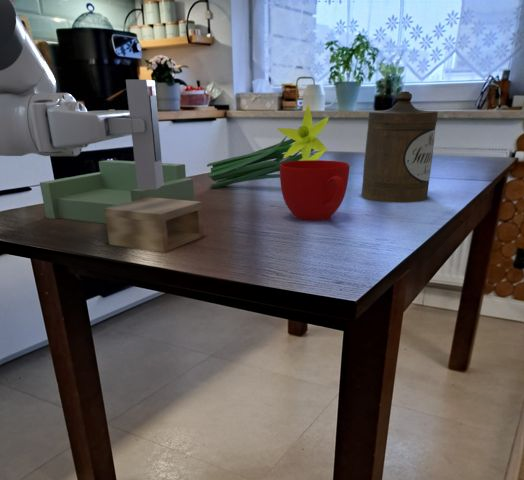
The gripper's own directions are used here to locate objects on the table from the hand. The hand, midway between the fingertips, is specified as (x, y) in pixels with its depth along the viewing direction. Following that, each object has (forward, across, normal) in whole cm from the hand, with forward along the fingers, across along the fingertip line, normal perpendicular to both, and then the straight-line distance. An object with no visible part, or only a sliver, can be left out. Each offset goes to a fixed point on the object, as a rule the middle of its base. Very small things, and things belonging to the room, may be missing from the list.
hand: (150, 124), depth 77 cm
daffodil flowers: (+13, -51, -18) cm, 56 cm away
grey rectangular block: (-1, 0, -9) cm, 9 cm away
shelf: (-1, 0, -18) cm, 18 cm away
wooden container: (+44, -42, -18) cm, 64 cm away
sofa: (-13, -20, -18) cm, 30 cm away
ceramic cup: (+26, -17, -18) cm, 36 cm away
